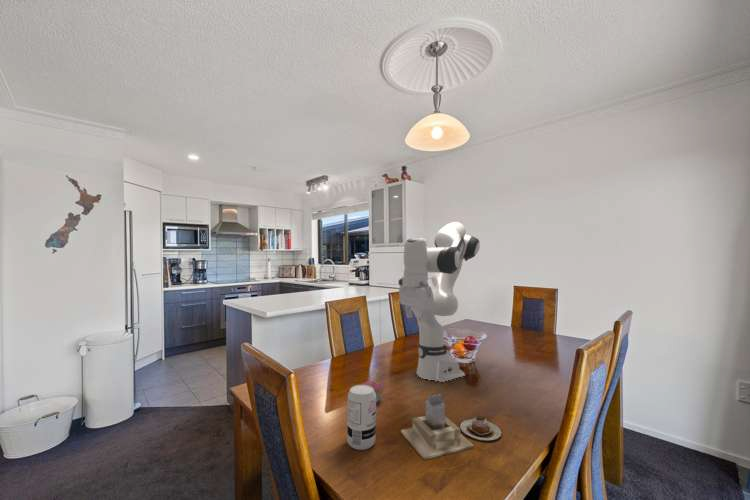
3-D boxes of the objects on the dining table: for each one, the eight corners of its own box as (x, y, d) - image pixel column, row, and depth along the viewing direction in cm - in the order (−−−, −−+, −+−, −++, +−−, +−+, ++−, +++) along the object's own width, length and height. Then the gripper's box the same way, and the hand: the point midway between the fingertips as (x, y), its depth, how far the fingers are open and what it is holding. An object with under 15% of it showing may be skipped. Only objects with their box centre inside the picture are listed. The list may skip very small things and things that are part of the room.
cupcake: (385, 397, 116) (386, 366, 117) (379, 407, 108) (379, 373, 109) (365, 394, 119) (365, 363, 120) (356, 403, 111) (357, 370, 112)
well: (445, 422, 98) (445, 408, 99) (473, 447, 85) (473, 430, 85) (400, 432, 93) (400, 416, 93) (423, 460, 80) (423, 442, 80)
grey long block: (437, 432, 92) (437, 391, 92) (444, 439, 88) (444, 397, 88) (425, 434, 90) (425, 393, 91) (432, 442, 86) (432, 399, 87)
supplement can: (347, 435, 91) (347, 384, 91) (374, 434, 92) (374, 383, 92) (346, 451, 83) (347, 395, 83) (376, 450, 83) (377, 395, 84)
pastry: (510, 440, 90) (509, 424, 90) (475, 447, 86) (475, 430, 86) (484, 420, 101) (484, 406, 101) (452, 425, 98) (452, 410, 98)
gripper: (438, 283, 102) (438, 324, 102) (410, 280, 122) (410, 314, 121) (422, 283, 100) (422, 325, 100) (396, 280, 119) (396, 315, 119)
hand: (415, 319), depth 110 cm, fingers open, 8 cm apart
